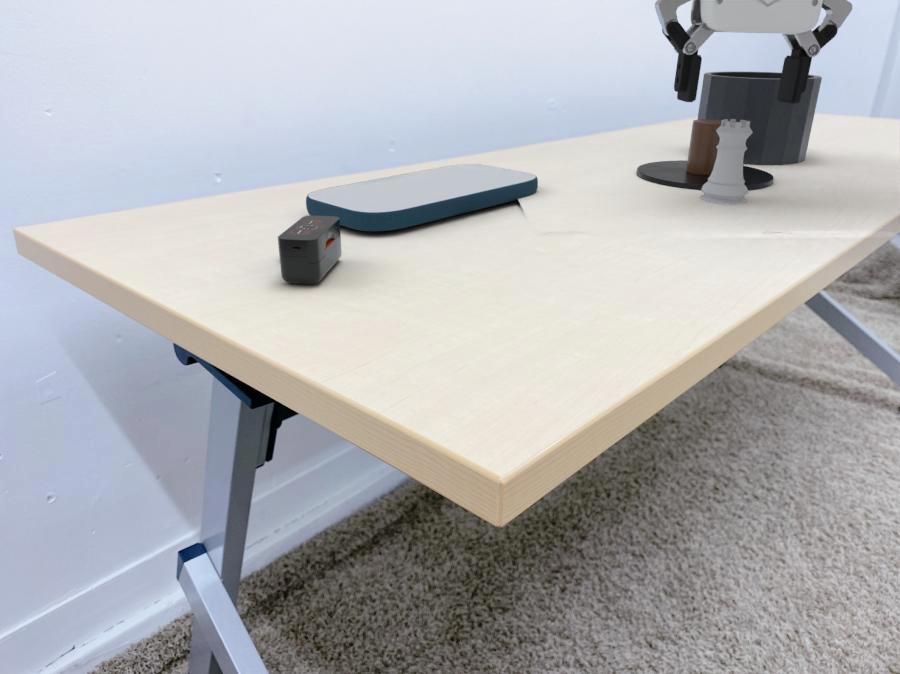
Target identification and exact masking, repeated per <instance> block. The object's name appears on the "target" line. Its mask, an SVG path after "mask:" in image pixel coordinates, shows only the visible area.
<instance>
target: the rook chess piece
mask: <svg viewBox="0 0 900 674" xmlns="http://www.w3.org/2000/svg"><path fill="white" fill-rule="evenodd" d="M716 131H717V133H718V135H719V137H720V142H719V144H718V145H717V146H716V148H717V149H718V152H717V158H716V161H715V164H714V168H713V171H712V173H711V175H710V177H709V178H708V182H706V183H705V184H704V185H703V187H702V190H701V191H702V193H703V195H701V196H700V197H699V198H700V200H701V201H704V202H707V203H711V204H717V205H718V204H719V205H731V206H732V205H742V204H746V203H747V201H748V200H746V199H745V198H744V197H745V196H746V195H748V194H749V190H748V189H747V187H746V186H745V185H744V182H745V180H744V179H743V166H744V164H743V158H744V152H745V151H746V150H747V147H746V140H747V138H748V137H749V136H750V135H751V134H752V133H753V132H752V130H751V128H750V121H746V120H740V122H736V119H731V121H730V122H729V121H728V119H724V120H722V123H721V126H720V127H719V128H718V129H717V130H716Z"/></svg>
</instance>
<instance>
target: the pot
mask: <svg viewBox="0 0 900 674" xmlns="http://www.w3.org/2000/svg"><path fill="white" fill-rule="evenodd" d="M781 75H782V72H774V71H710V72H705V73H703V79H702V86H701V93H700V98H699V107H698V113H697V120H699V119H713V120H724V119H728V121H729V122H730V121H731V119H736V122H740V120H746V121H750V128H751V130H752V132H753V133H752V134H751V135H750V136H749V137H748V138H747V140H746V147H747V150H746V151H745V152H744V158H743V165H751V166H788V165H797V164H800V163H802V162H806V161H805V160H806V157H807V151H808V146H809V141H810V138H811V133H812V127H813V123H814V117H815V114H816V107H817V103H818V98H819V94H820V88H821V84H822V79H823V78H822V76H820V75H814V74H809V75H808V80H807V84H806V89H805V91H804V93H802V94H801V98H800V102H799V103H798V104H791V103H787V102H782V101H779V100H778V99H777V95H778V90H779V85H780V80H781Z"/></svg>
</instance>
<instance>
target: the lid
mask: <svg viewBox="0 0 900 674" xmlns="http://www.w3.org/2000/svg"><path fill="white" fill-rule="evenodd" d="M721 123H722V120H713V119H699V120H698V119H694V120H692V126H691V133H690V141H689V147H688V148H689V149H688V155H687V160H661V161H660V160H659V161H652V162H646V163H643V164H641V165H639V166H638V167H637V168H636V176H638V177H639V178H641V179H643V180H646V181H649V182H651V183H656V184H659V185H664V186H669V187H675V188H682V189H691V190H701V191H702V187H703V185H704V184H705V183H706V182H708V178H709V177H710V175H711V173H712V171H713V168H714V164H715V161H716V158H717V152H718V149H717V148H716V146H717V145H718V144H719V142H720V137H719V135H718V133H717V131H716V130H717V129H718V128H719V127H720V126H721ZM774 178H775V177H774V176H773V174H772V173H770V172H768V171H766V170H763V169H759V168H755V167H752V166H747V165H743V179H744V180H745V182H744V185H745V186H746V187H747V189H748V191H749V190H757V189H758V190H759V189H763V188H766V187H769V186H771V185H772V184H773V183H774Z"/></svg>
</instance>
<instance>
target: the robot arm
mask: <svg viewBox="0 0 900 674" xmlns="http://www.w3.org/2000/svg"><path fill="white" fill-rule="evenodd" d="M690 2H691V9H690V24H691V26H689V27H688V28H687V30H685V28H684V27H683V26H682V25H681V23H680V22H679V20H678V19H679V18H678V15H677V10H678V9H679V8H680V7H681V6H683V5H685V4H686V3H690ZM654 9H655V13H656V15H657V19H658V21H659V24H660V26H661V31H662V34H663V35H664V37H665V38H666V39H667V40H668V42H669V43H670V45H671V46H672V47H673V50H674V52H675V53H676V54H678V55H677V61H676V68H675V69H676V70H675V77H674V84H673V90H674V92H676V93H677V94H676V98H677V100H678V101H682V102H685V103H694V102H695V101H696V100H697V95H698V88H699V82H700V81H699V80H700V74H701V68H702V67H701V66H702V60H703V59H702V56H701V55H700V54H699V49H700V48H701V47H702V46H703V45H704V44H705V43H706V42H707V40H709V38H710V37H711V36H712V35H713V34H715V33H734V34H735V33H737V34H739V33H741V34H743V33H744V34H781V35H782V37H783V38H784V40H785V42H786V43H787V45H788V47H789V49H790V51H791V53H790V55H786V57H784V59H783V65H782V70H781V73H782V75H781V80H780V85H779V90H778V95H777V99H778V100H779V101H782V102H787V103H791V104H798V103H799V102H800V98H801V94H802V93H804V91H805V89H806V84H807V80H808V75H810V70H811V64H812V60H813V58H814V57H817V56H818V55H819V54H820V51H821V50H822V48H824V47H825V46H826V45H827V44H828V43H829V42H831V40H833V39H834V38H835V37H836V36H837V34H838V30H839V29H840V28H841V27H842V25H843V24H844V22H845V21H846V19H847V18H848V17H849V15H850V14H851V12H852V10H853V4H852V3H851V2H850V1H849V0H656V1H655V3H654ZM822 9H823V10H824V11H825V16H824V18H823V20H822V22H821V24H819V25H818V22H819V20H820V16H821V13H822ZM817 25H818V26H817ZM816 26H817V27H816Z"/></svg>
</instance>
